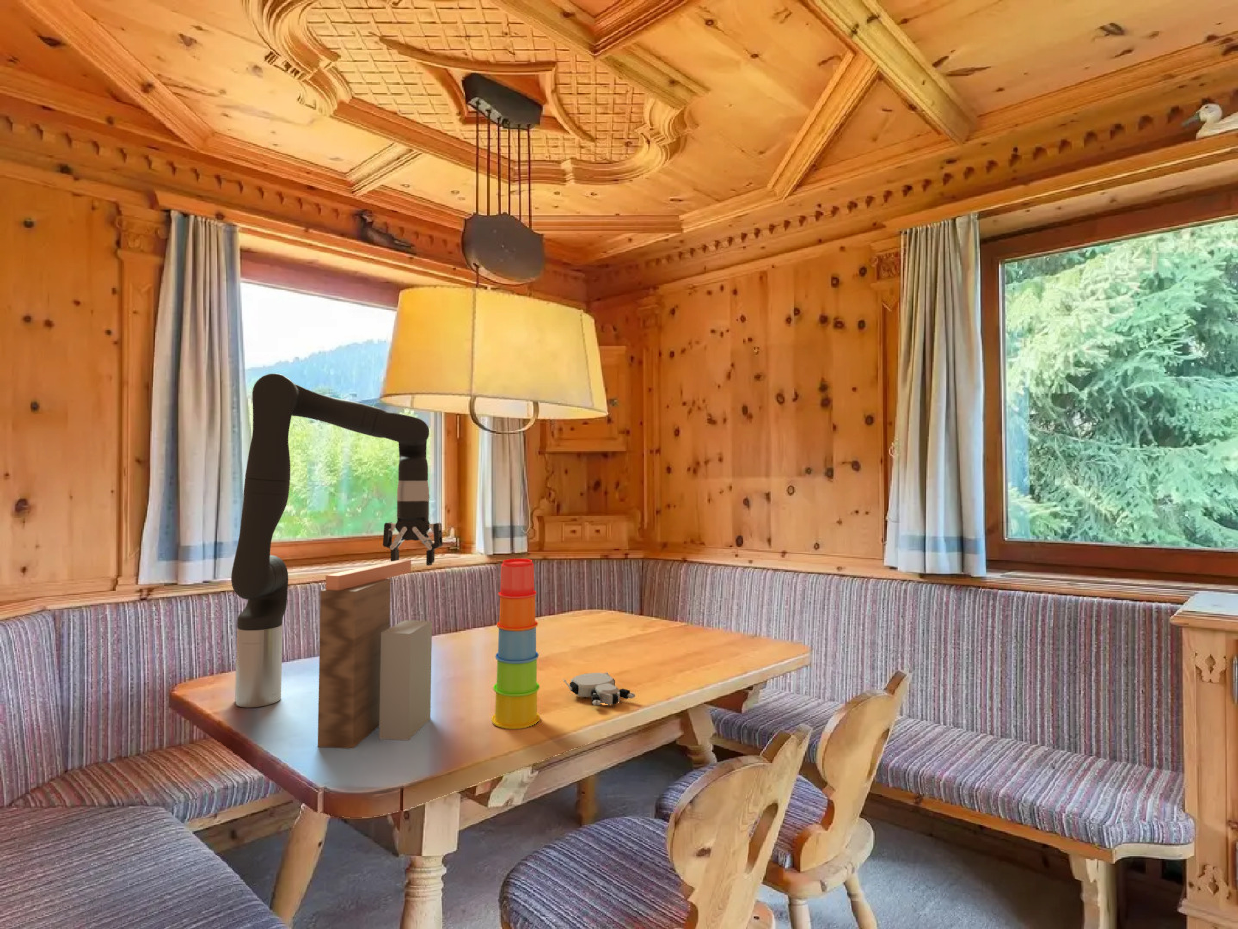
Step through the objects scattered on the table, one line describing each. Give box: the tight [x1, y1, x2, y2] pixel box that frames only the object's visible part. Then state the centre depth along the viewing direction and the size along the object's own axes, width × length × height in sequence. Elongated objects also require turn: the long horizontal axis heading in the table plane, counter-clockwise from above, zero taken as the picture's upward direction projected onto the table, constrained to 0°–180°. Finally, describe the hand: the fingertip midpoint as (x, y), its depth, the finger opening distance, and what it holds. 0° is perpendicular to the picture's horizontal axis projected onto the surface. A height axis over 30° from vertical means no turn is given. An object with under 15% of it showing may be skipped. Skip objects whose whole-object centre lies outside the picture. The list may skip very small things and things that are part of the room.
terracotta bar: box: [325, 559, 412, 590], centre depth 143 cm, size 3×26×3 cm, turn 166°
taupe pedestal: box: [378, 619, 433, 741], centre depth 140 cm, size 6×12×21 cm, turn 175°
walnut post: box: [317, 578, 391, 749], centre depth 137 cm, size 7×16×30 cm, turn 175°
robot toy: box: [563, 671, 636, 706], centre depth 159 cm, size 12×4×15 cm
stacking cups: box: [491, 557, 541, 730], centre depth 145 cm, size 10×10×35 cm
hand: (412, 565), depth 166 cm, fingers open, 8 cm apart
